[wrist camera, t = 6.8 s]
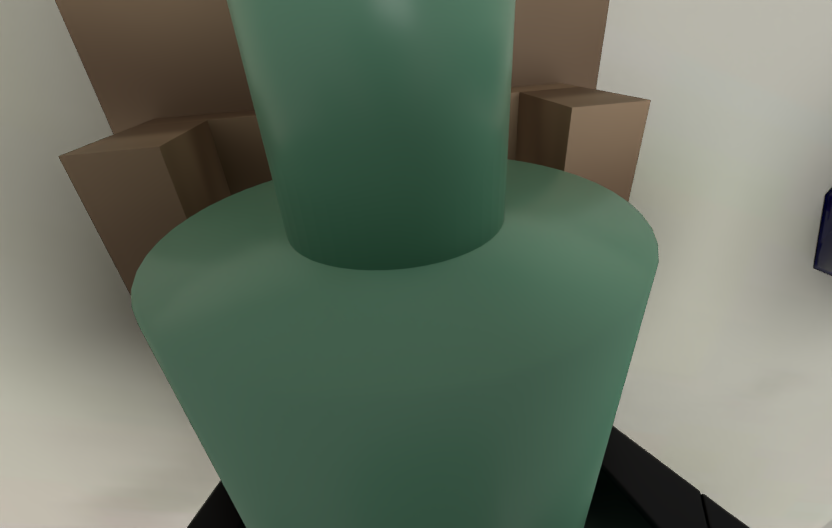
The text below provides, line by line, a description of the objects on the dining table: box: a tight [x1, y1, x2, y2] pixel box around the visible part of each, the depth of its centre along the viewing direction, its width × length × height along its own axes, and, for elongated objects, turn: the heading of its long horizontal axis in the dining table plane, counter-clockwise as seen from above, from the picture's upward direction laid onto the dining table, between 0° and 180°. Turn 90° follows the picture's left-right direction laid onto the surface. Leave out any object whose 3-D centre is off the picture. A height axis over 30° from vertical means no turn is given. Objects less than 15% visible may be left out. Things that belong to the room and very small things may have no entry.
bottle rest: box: [55, 0, 651, 295], centre depth 12 cm, size 18×12×4 cm, turn 4°
